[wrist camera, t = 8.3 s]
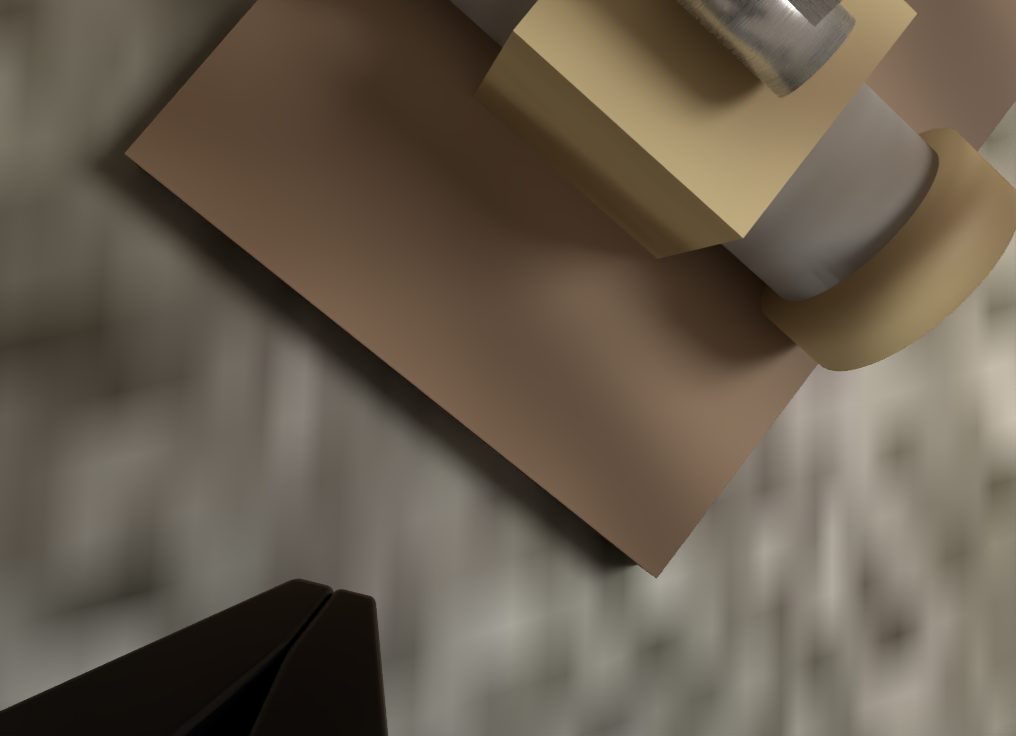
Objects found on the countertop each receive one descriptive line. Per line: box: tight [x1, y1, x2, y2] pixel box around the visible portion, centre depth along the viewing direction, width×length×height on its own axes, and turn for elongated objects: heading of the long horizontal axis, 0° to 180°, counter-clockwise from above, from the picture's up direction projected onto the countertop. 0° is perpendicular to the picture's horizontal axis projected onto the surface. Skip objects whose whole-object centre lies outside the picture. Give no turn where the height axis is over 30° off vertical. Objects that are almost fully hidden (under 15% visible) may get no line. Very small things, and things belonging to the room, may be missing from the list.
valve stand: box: [124, 0, 1016, 578], centre depth 18 cm, size 16×14×6 cm
